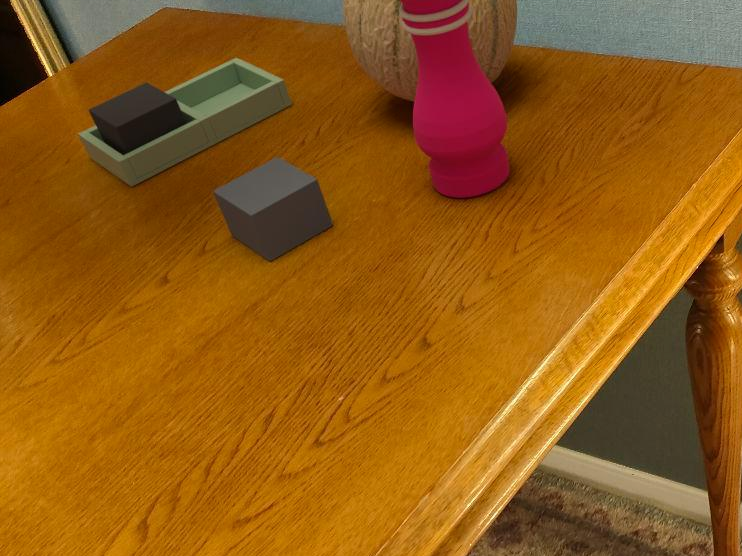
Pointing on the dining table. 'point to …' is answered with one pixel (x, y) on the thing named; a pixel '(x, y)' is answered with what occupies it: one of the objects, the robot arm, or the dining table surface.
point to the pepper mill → (454, 101)
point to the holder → (197, 119)
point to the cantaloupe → (397, 49)
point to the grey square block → (273, 208)
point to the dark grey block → (137, 118)
